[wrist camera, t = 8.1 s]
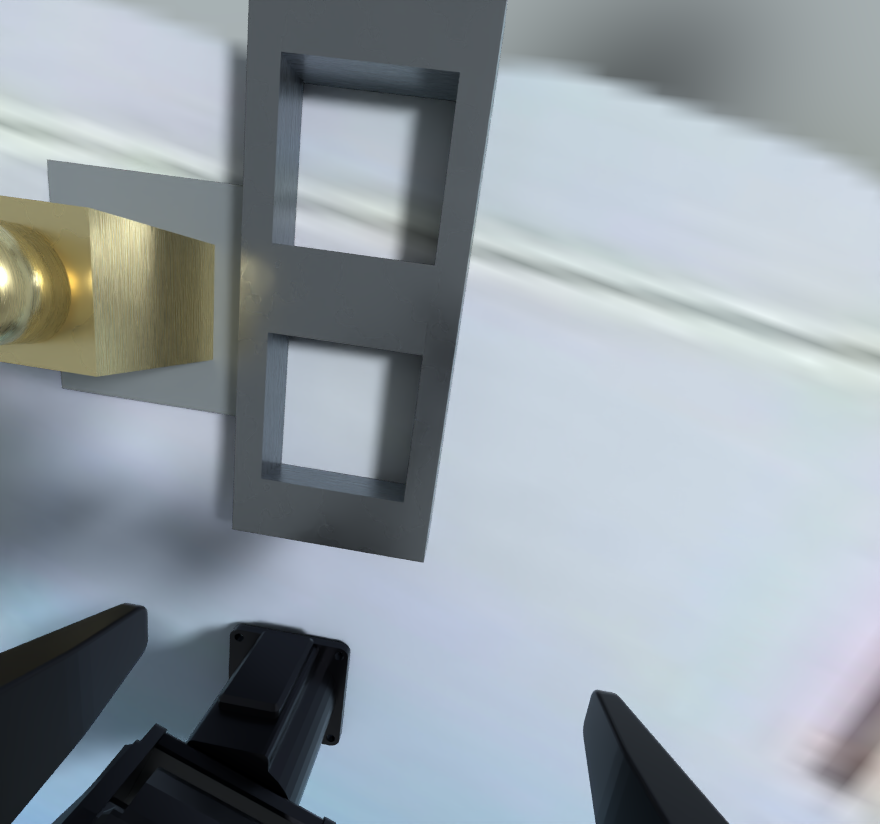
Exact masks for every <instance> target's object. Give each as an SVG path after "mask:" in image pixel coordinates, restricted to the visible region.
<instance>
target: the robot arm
mask: <svg viewBox="0 0 880 824" xmlns="http://www.w3.org/2000/svg"><path fill="white" fill-rule="evenodd" d="M240 634H242V636H241V635H240ZM147 642H148V617H147V610H146V608H145V607H144V606H141V605H135V604H130V603H124V604H120V605H118V606H115V607H113V608H110V609H108V610H105V611H103V612H101V613H98V614H96V615H93V616H91V617H88V618H86V619H83V620H81V621H78V622H76V623H73V624H71V625H68V626H66V627H63V628H61V629H59V630H56V631H54V632H51V633H49V634H46V635H44V636H41V637H39V638H36V639H34V640H31V641H29V642H26V643H24V644H22V645H19V646H17V647H14V648H12V649H9V650H7V651H4V652H2V653H0V824H11V823H12V822H13V821H14V820H15V818H16V817H17V816H18V815H19V814H20V812H21V811H22V810H23V809H24V808H25V806H26V805H27V804H28V803H29V801H30V800H31V799H32V798H33V797H34V795H35V794H36V793H37V792H38V791H39V789H40V788H41V787H42V786H43V785H44V783H45V782H46V781H47V780H48V779H49V777H50V776H51V775H52V774H53V773H54V771H55V770H56V769H57V768H58V767H59V765H60V764H61V763H62V762H63V761H64V759H65V758H66V757H67V756H68V755H69V753H70V752H71V751H72V750H73V749H74V747H75V746H76V745H77V744H78V742H79V741H80V740H81V739H82V737H83V736H84V735H85V733H86V732H87V731H88V729H89V728H90V727H91V725H92V724H93V723H94V721H95V720H96V719H97V717H98V716H99V714H100V713H101V712H102V710H103V709H104V707H105V706H106V705H107V703H108V702H109V700H110V699H111V698H112V696H113V695H114V693H115V692H116V691H117V689H118V688H119V686H120V685H121V684H122V682H123V681H124V679H125V678H126V677H127V675H128V674H129V672H130V671H131V670H132V668H133V667H134V665H135V664H136V663H137V661H138V660H139V658H140V657H141V656H142V654H143V652H144V650H145V648H146V646H147ZM338 652H340V653H342V655H341V654H339V653H338ZM349 660H350V648H349V646H347V645H346V644H344V643H341V642H336V641H330V640H325V639H319V638H314V637H309V636H303V635H298V634H293V633H287V632H282V631H276V630H271V629H266V628H260V627H255V626H250V625H244V624H240V625H237V626H236V627H235V628H234V630H233V631H232V632H231V634H230V654H229V681H228V682H227V684H226V685H225V687H224V688H223V689H222V691H221V692H220V694H219V695H218V697H217V698H216V700H215V701H214V703H213V704H212V705H211V707H210V708H209V710H208V711H207V713H206V714H205V716H204V717H203V719H202V720H201V722H200V723H199V724H198V726H197V727H196V729H195V730H194V732H193V733H192V735H191V736H190V738H189V739H188V741H187V742H186V743H185V742H183V741H181V740H179V739H177V738H176V737H174V736H172V735H170V734H168V733H166V731H167V729H165V728H164V727H162V726H160V725H158V724H155V725H154V726H153V727H152V728H151V730H150V731H149V732H148V733H147V734H146V735H145V736H144V738H143V739H142V740H141V741H139V740H136V741H135V742H134V743H133V744H129V745H125V746H124V747H123V748H122V749H121V751H120V752H119V753H118V754H117V755H116V757H115V758H114V759H113V760H112V761H111V763H110V764H109V765H108V766H107V768H106V769H105V770H104V771H103V772H102V773H101V775H100V776H99V777H98V778H97V779H96V781H95V782H94V783H93V784H92V785H91V786H90V787H89V788H88V789H87V790H86V791H85V792H84V793H83V794H82V795H81V796H80V797H79V798H78V799H77V800H76V801H75V802H74V803H73V804H72V805H71V806H70V807H69V808H68V809H67V810H66V811H65V812H64V813H62V814H61V815H60V816H59V817H58V818H57V819H56V820H55V821H54V822H53V823H52V824H336V822H334V821H332V820H330V819H328V818H327V817H324V818H323V819H322V818H321V817H319V816H317V815H315V814H313V813H312V812H310V811H308V810H306V809H304V808H303V807H301V806H299V803H300V801H301V798H302V795H303V792H304V790H305V787H306V784H307V781H308V779H309V776H310V773H311V770H312V768H313V765H314V762H315V759H316V757H317V754H318V751H319V748H320V746H321V744H326V745H336V744H337V743H338V742H339V739H340V736H341V733H342V724H343V715H344V706H345V697H346V688H347V679H348V670H349ZM583 737H584V744H585V751H586V758H587V765H588V773H589V780H590V787H591V794H592V801H593V808H594V815H595V822H596V824H729V823H728V822H727V821H726V819H725V818H724V817H723V816H722V815H721V814H720V813H719V811H718V810H717V809H716V808H715V807H714V806H713V804H712V803H711V802H710V801H709V800H708V799H707V798H706V796H705V795H704V794H703V793H702V792H701V791H700V789H699V788H698V787H697V786H696V785H695V784H694V783H693V781H692V780H691V779H690V778H689V777H688V776H687V774H686V773H685V772H684V771H683V770H682V769H681V767H680V766H679V765H678V764H677V763H676V762H675V761H674V759H673V758H672V757H671V756H670V755H669V754H668V752H667V751H666V750H665V749H664V748H663V747H662V746H661V744H660V743H659V742H658V741H657V740H656V739H655V737H654V736H653V735H652V734H651V733H650V732H649V731H648V729H647V728H646V727H645V726H644V725H643V724H642V722H641V721H640V720H639V719H638V718H637V717H636V715H635V714H634V713H633V712H632V711H631V710H630V709H629V707H628V706H627V705H626V704H625V703H624V702H623V700H622V699H621V698H620V697H619V696H618V695H617V694H615V693H612V692H607V691H602V690H595V691H593V693H592V695H591V698H590V702H589V706H588V709H587V713H586V717H585V720H584V726H583Z"/></svg>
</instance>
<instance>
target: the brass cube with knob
mask: <svg viewBox="0 0 880 824" xmlns="http://www.w3.org/2000/svg"><path fill="white" fill-rule="evenodd" d="M214 266H215V245H214V244H210V243H207V242H203V241H200V240H197V239H193V238H190V237H187V236H183V235H180V234H176V233H173V232H170V231H166V230H163V229H159V228H156V227H153V226H149V225H146V224H143V223H139V222H136V221H132V220H129V219H126V218H122V217H119V216H115V215H112V214H109V213H105V212H102V211H99V210H95V209H92V208H88V207H81V206H73V205H66V204H59V203H51V202H44V201H36V200H29V199H22V198H14V197H7V196H0V362H6V363H12V364H19V365H25V366H31V367H38V368H44V369H51V370H57V371H63V372H70V373H76V374H82V375H89V376H95V377H98V376H105V375H112V374H119V373H126V372H133V371H139V370H146V369H153V368H160V367H167V366H174V365H181V364H187V363H194V362H201V361H208V360H213V329H214Z"/></svg>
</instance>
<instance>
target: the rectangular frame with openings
mask: <svg viewBox="0 0 880 824" xmlns="http://www.w3.org/2000/svg"><path fill="white" fill-rule="evenodd" d="M506 9H507V0H249V13H248V16H249V17H248V45H247V77H246V109H245V141H244V174H243V206H242V238H241V270H240V302H239V334H238V366H237V398H236V431H235V463H234V495H233V527H232V529H234V530H239V531H245V532H251V533H257V534H262V535H268V536H274V537H280V538H285V539H291V540H297V541H302V542H308V543H314V544H320V545H325V546H331V547H337V548H343V549H348V550H354V551H360V552H365V553H371V554H377V555H383V556H388V557H394V558H400V559H406V560H411V561H417V562H424V557H425V553H426V548H427V543H428V538H429V531H430V525H431V518H432V511H433V504H434V498H435V491H436V484H437V478H438V471H439V464H440V457H441V451H442V444H443V437H444V431H445V424H446V417H447V410H448V404H449V397H450V390H451V384H452V377H453V370H454V363H455V357H456V350H457V343H458V337H459V330H460V323H461V316H462V310H463V303H464V296H465V290H466V283H467V276H468V269H469V263H470V256H471V249H472V243H473V236H474V229H475V222H476V216H477V209H478V202H479V196H480V189H481V182H482V175H483V169H484V162H485V155H486V149H487V142H488V135H489V128H490V122H491V115H492V108H493V102H494V95H495V88H496V81H497V75H498V68H499V61H500V55H501V48H502V40H503V34H504V28H505V19H506ZM303 83H308V84H316V85H325V86H333V87H341V88H350V89H358V90H367V91H375V92H383V93H392V94H400V95H409V96H417V97H425V98H434V99H442V100H451V101H456V107H455V115H454V122H453V130H452V138H451V145H450V153H449V160H448V168H447V176H446V183H445V191H444V198H443V206H442V214H441V221H440V229H439V237H438V244H437V252H436V259H435V265H428V264H421V263H414V262H407V261H399V260H392V259H385V258H378V257H370V256H363V255H356V254H349V253H342V252H334V251H327V250H320V249H313V248H306V247H298V246H294V237H295V220H296V202H297V185H298V168H299V151H300V133H301V116H302V99H303ZM289 336H296V337H302V338H309V339H316V340H322V341H329V342H336V343H342V344H349V345H356V346H362V347H369V348H376V349H382V350H389V351H396V352H402V353H409V354H416V355H422V356H423V359H422V366H421V374H420V381H419V389H418V397H417V404H416V412H415V420H414V427H413V435H412V442H411V450H410V458H409V465H408V473H407V480H406V484H401V483H395V482H389V481H383V480H377V479H371V478H365V477H359V476H353V475H347V474H341V473H335V472H329V471H323V470H317V469H311V468H305V467H299V466H292V465H286V464H281V461H282V444H283V426H284V409H285V392H286V375H287V357H288V340H289Z"/></svg>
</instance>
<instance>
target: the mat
mask: <svg viewBox="0 0 880 824" xmlns="http://www.w3.org/2000/svg"><path fill="white" fill-rule="evenodd" d="M47 165H48V181H49V196H50V202H51V203H59V204H66V205H73V206H81V207H88V208H92V209H95V210H99V211H102V212H105V213H109V214H112V215H115V216H119V217H122V218H126V219H129V220H132V221H136V222H139V223H143V224H146V225H149V226H153V227H156V228H159V229H163V230H166V231H170V232H173V233H176V234H180V235H183V236H187V237H190V238H193V239H197V240H200V241H203V242H207V243H210V244H214V245H215V266H214V329H213V360H208V361H201V362H194V363H187V364H181V365H174V366H167V367H160V368H153V369H146V370H139V371H133V372H126V373H119V374H112V375H105V376H98V377H95V376H89V375H82V374H76V373H70V372H63V371H61V380H62V388H64V389H70V390H76V391H82V392H89V393H95V394H101V395H107V396H113V397H120V398H126V399H132V400H138V401H145V402H151V403H157V404H163V405H169V406H176V407H182V408H188V409H194V410H201V411H207V412H213V413H219V414H226V415H232V416H236V398H237V366H238V334H239V302H240V270H241V238H242V206H243V185H235V184H228V183H220V182H213V181H205V180H198V179H190V178H183V177H175V176H167V175H160V174H152V173H145V172H137V171H130V170H122V169H114V168H107V167H99V166H92V165H84V164H77V163H69V162H62V161H54V160H47Z"/></svg>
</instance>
